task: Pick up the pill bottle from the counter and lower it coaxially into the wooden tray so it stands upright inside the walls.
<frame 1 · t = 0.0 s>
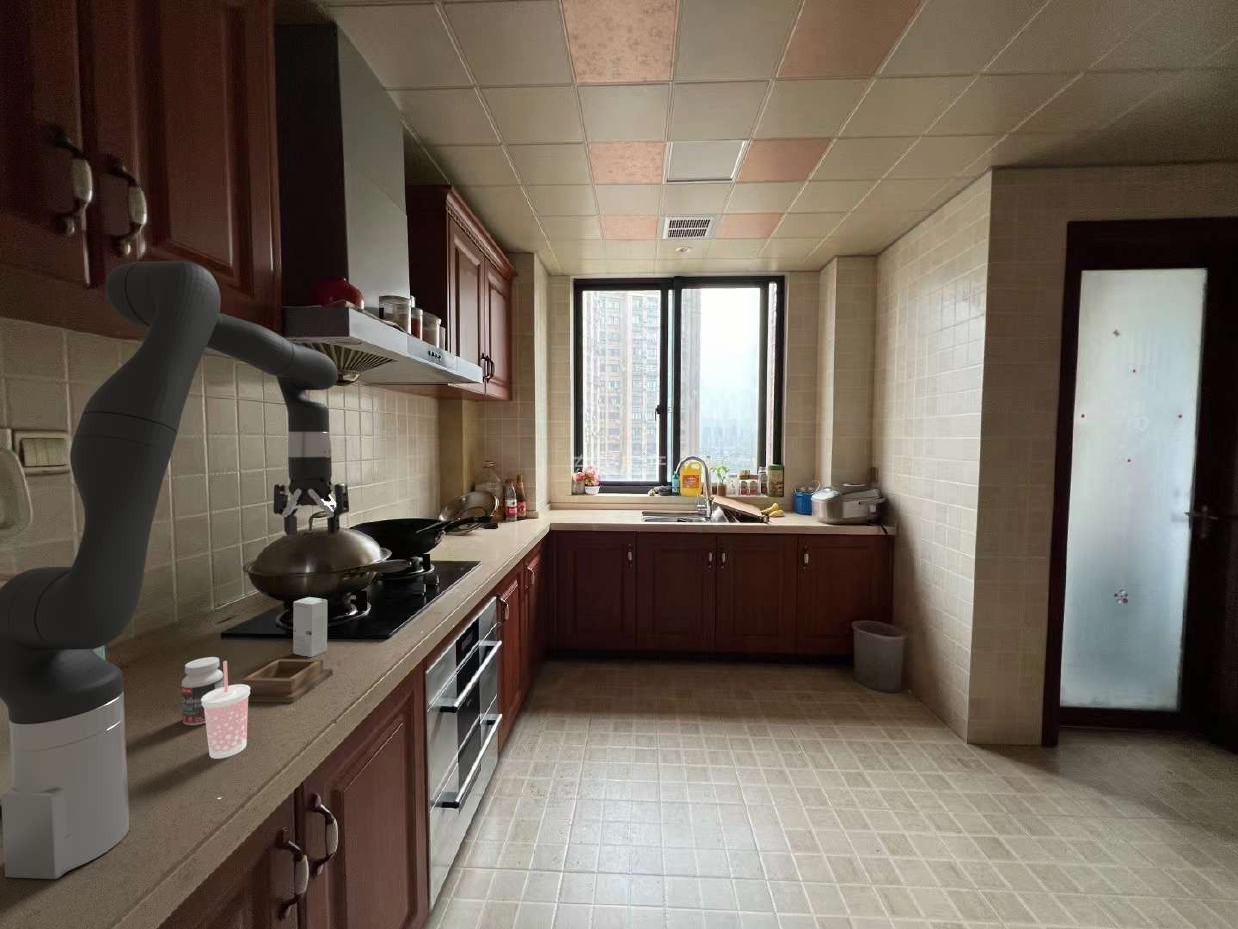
hand: (312, 535, 106), 29 cm above the counter, tool pointing down, fingers open, 8 cm apart
skincare box: (311, 653, 120), on the counter
pill bottle: (204, 719, 91), on the counter
beverage cup: (228, 751, 82), on the counter
wooden tray: (284, 687, 103), on the counter
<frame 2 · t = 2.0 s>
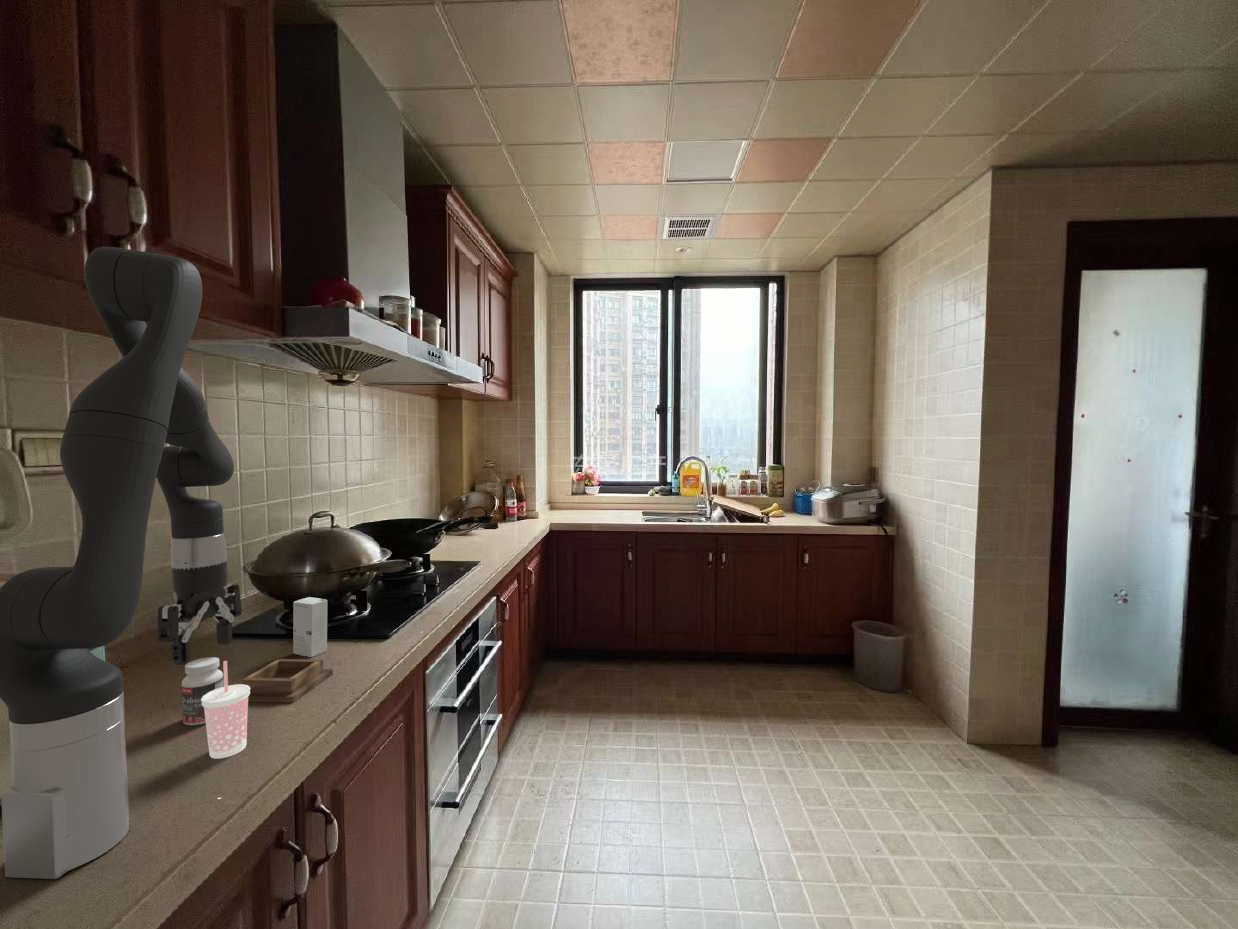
hand: (204, 653, 91), 11 cm above the counter, tool pointing down, fingers open, 8 cm apart
nothing on the counter moved.
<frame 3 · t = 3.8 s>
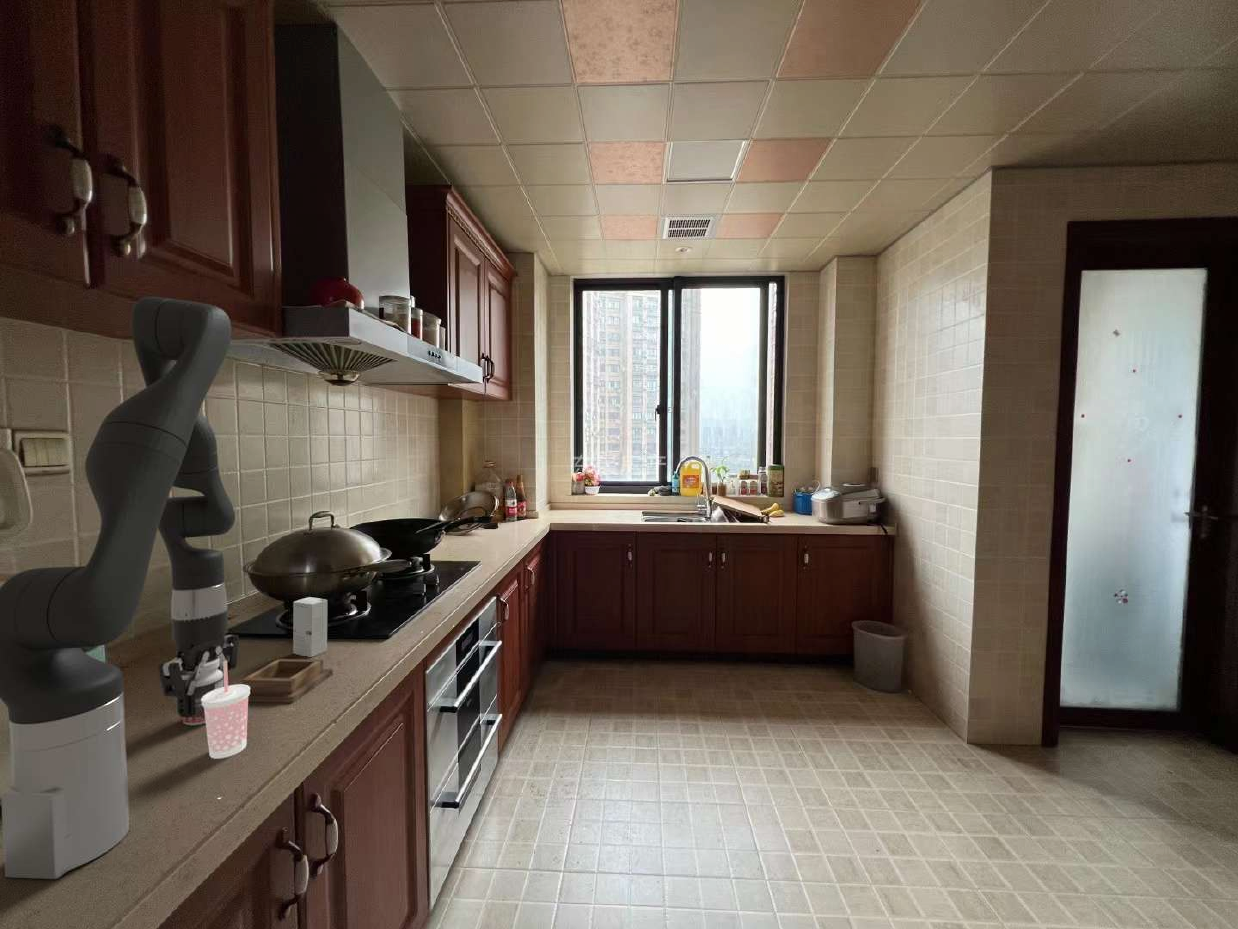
hand: (203, 706, 91), 2 cm above the counter, tool pointing down, fingers closed on pill bottle, 5 cm apart
pill bottle: (204, 719, 91), on the counter, touching gripper
everything else where it was.
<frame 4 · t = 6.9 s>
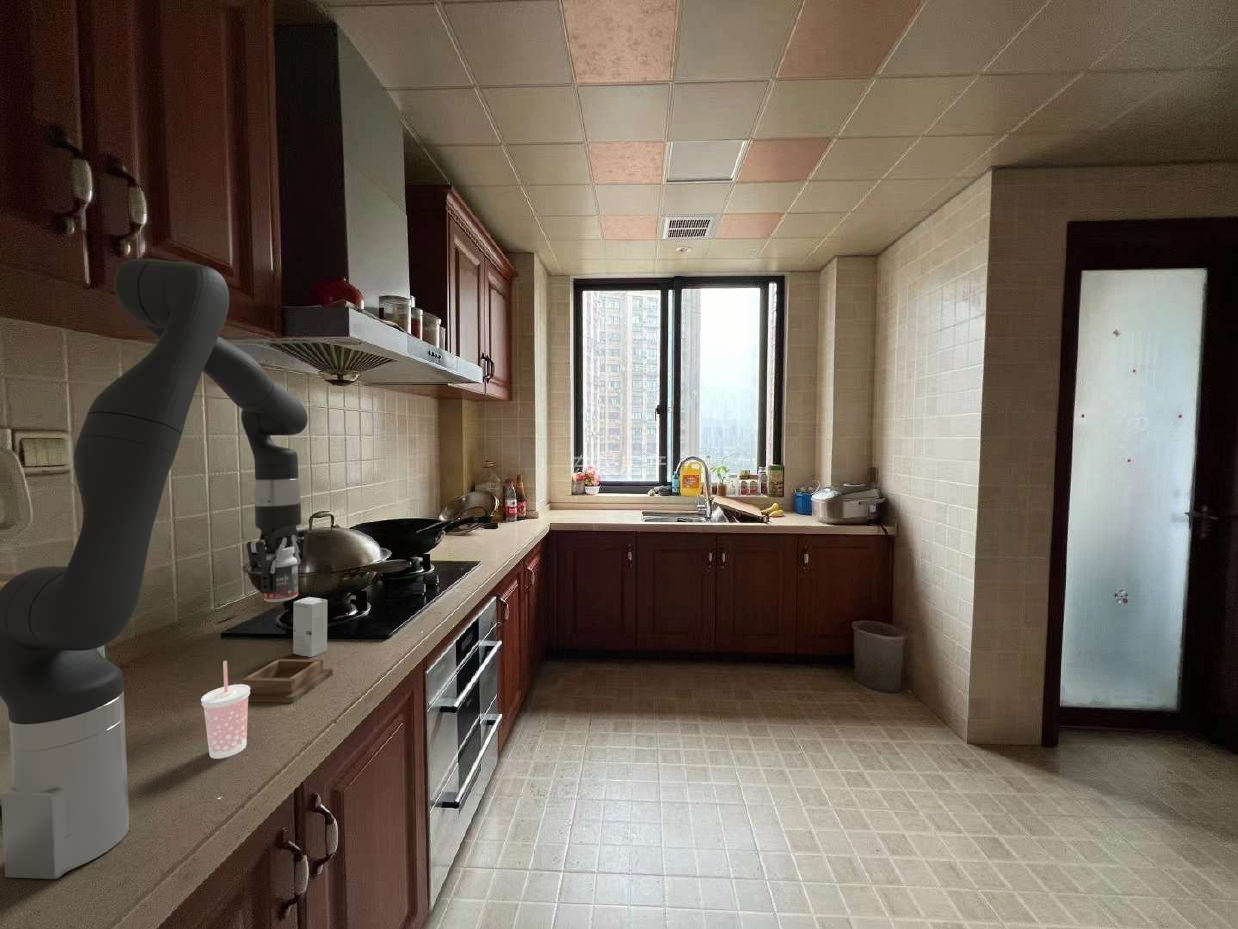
hand: (281, 587, 102), 20 cm above the counter, tool pointing down, fingers closed on pill bottle, 5 cm apart
pill bottle: (281, 599, 102), point 17 cm above the counter, touching gripper
everything else where it was.
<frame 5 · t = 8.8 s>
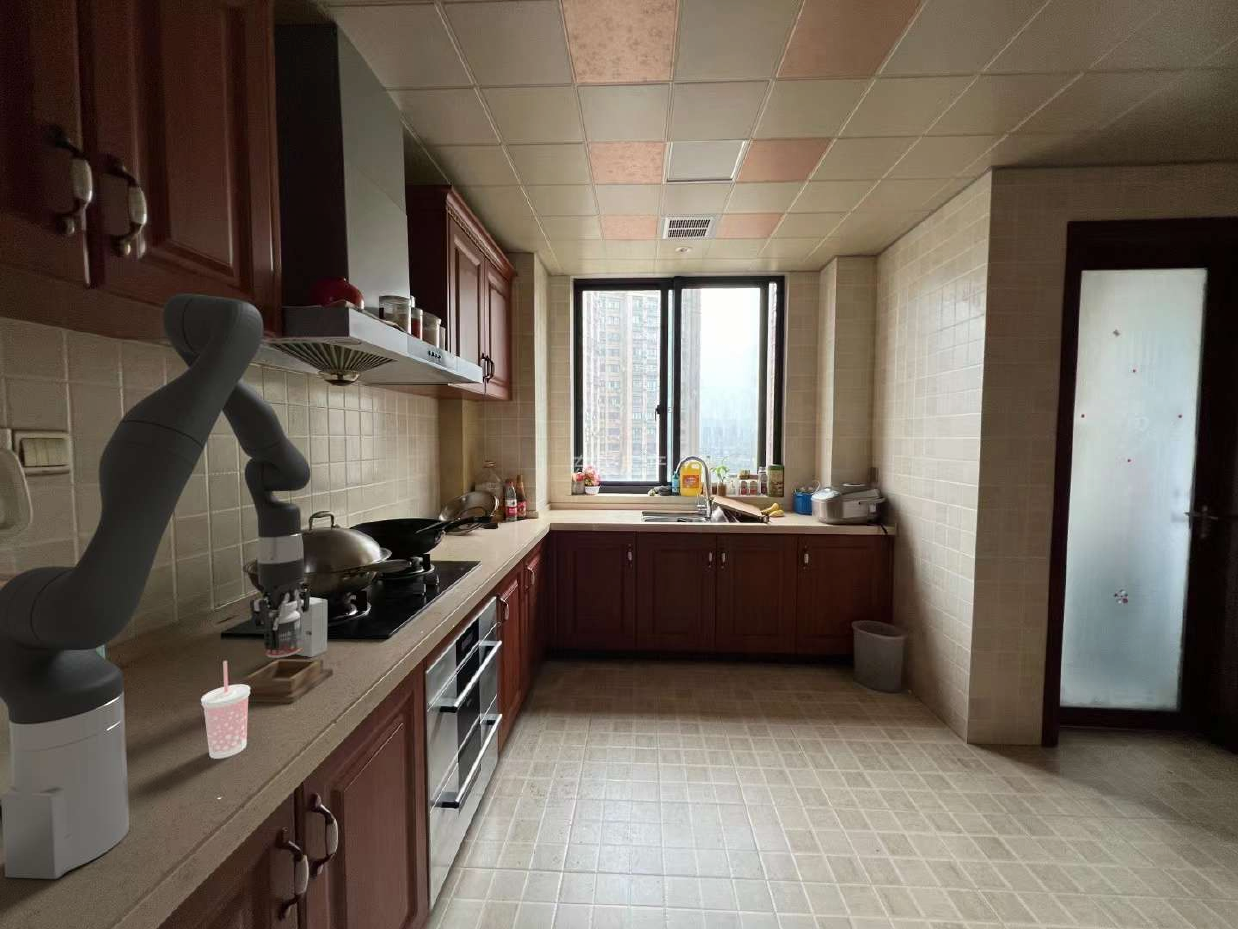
hand: (283, 642, 103), 9 cm above the counter, tool pointing down, fingers closed on pill bottle, 5 cm apart
pill bottle: (284, 654, 103), point 7 cm above the counter, touching gripper
everything else where it was.
when the fingers open (6 cm above the counter, at t = 10.4 s): pill bottle drops 3 cm, resting on wooden tray.
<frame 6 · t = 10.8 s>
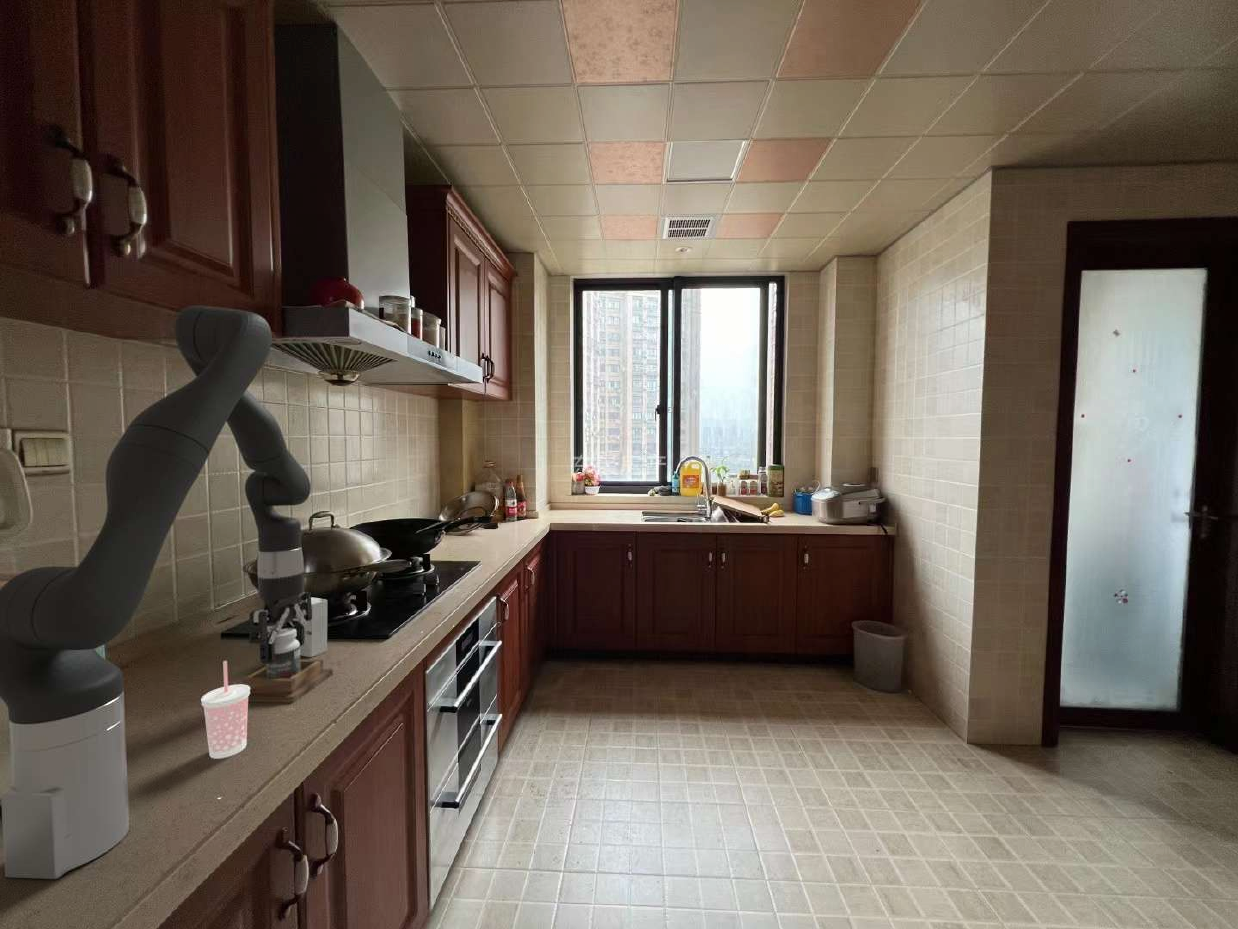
hand: (283, 653, 103), 7 cm above the counter, tool pointing down, fingers open, 8 cm apart
pill bottle: (284, 682, 103), point 1 cm above the counter, touching wooden tray
everything else where it was.
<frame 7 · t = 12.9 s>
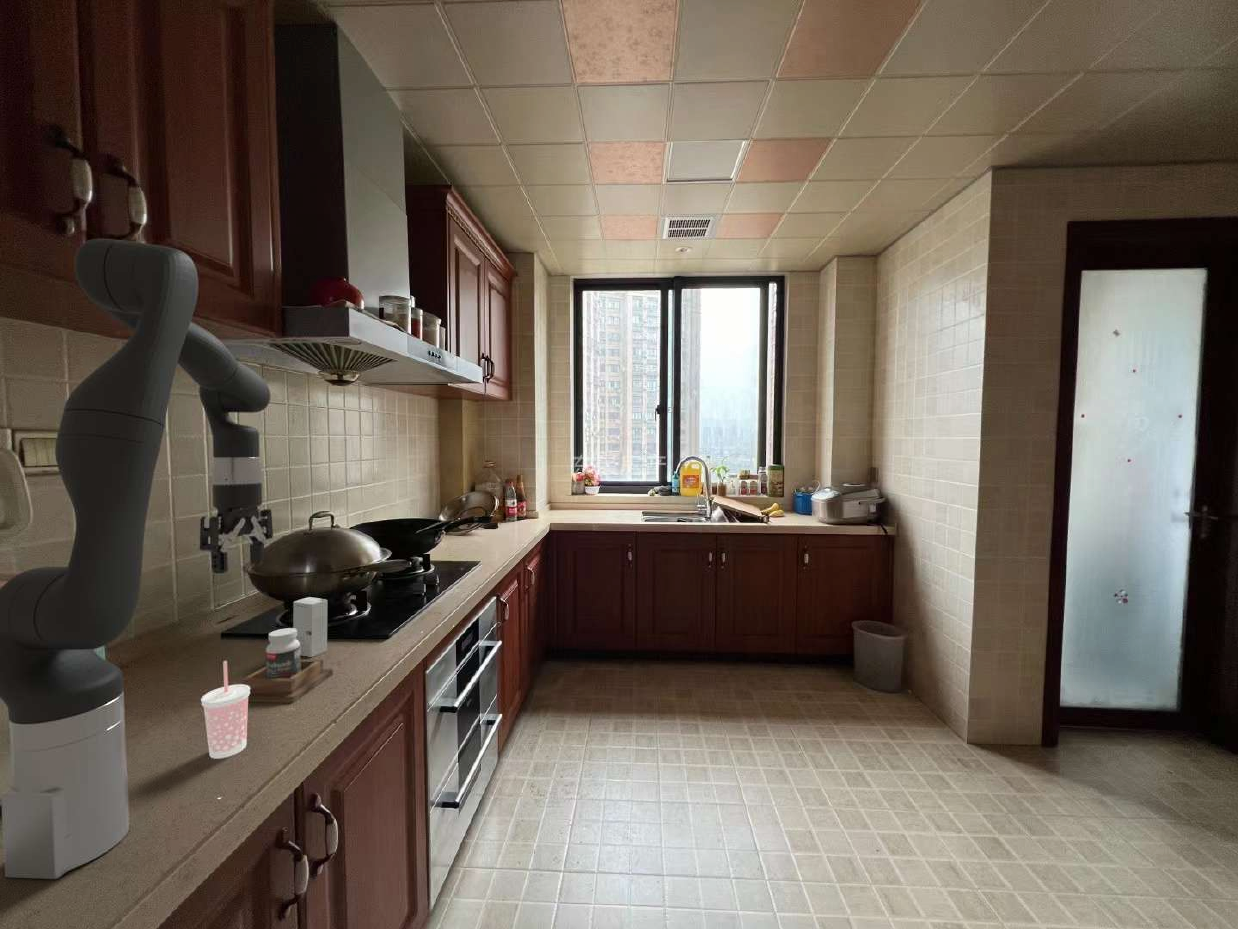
hand: (239, 567, 98), 24 cm above the counter, tool pointing down, fingers open, 8 cm apart
nothing on the counter moved.
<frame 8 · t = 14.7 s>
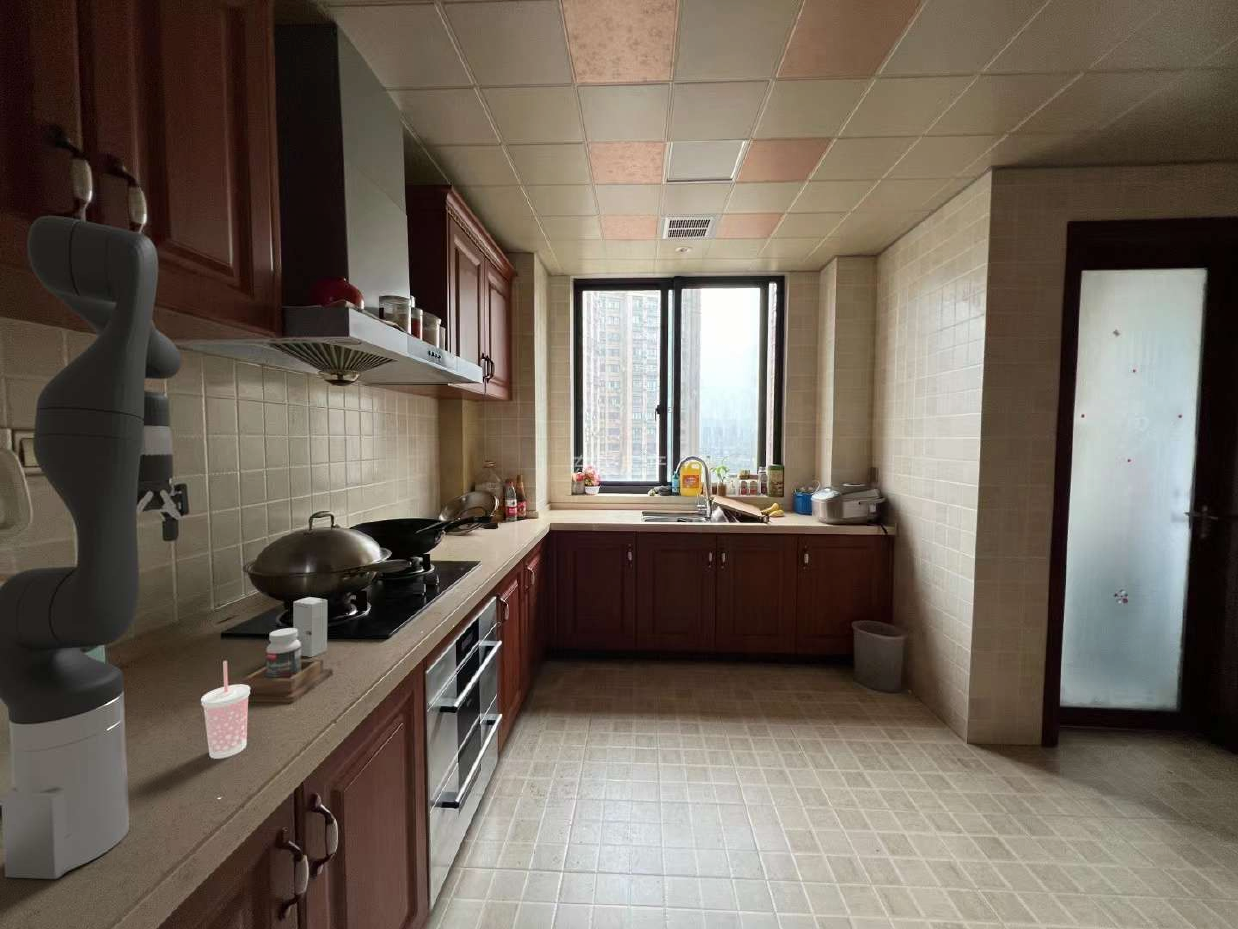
hand: (148, 545, 92), 30 cm above the counter, tool pointing down, fingers open, 8 cm apart
nothing on the counter moved.
at the end: pill bottle 0.0 cm off-centre on the wooden tray, point 0.8 cm above the wooden tray's base; pill bottle tilted 1°; the gripper is holding nothing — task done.
